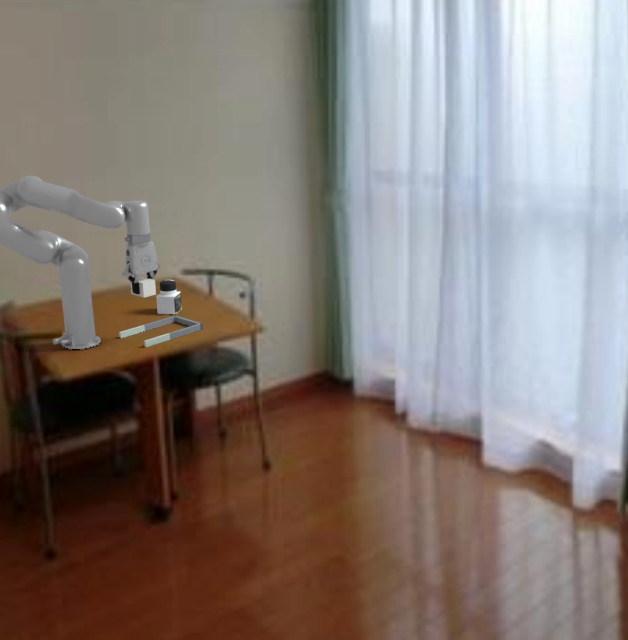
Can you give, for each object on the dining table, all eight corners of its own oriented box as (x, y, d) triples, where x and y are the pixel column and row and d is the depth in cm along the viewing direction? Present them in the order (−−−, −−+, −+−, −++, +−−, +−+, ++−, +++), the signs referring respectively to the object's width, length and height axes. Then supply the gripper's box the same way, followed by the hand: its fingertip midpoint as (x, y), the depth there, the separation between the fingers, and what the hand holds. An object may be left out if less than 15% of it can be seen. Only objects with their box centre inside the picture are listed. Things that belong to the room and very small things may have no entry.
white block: (143, 297, 279) (142, 283, 278) (131, 293, 284) (130, 279, 282) (156, 294, 283) (154, 279, 281) (143, 290, 287) (142, 276, 286)
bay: (146, 347, 279) (145, 341, 278) (119, 337, 289) (118, 332, 288) (202, 329, 296) (202, 323, 295) (175, 320, 306) (175, 315, 305)
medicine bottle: (175, 315, 312) (173, 283, 309) (157, 314, 314) (154, 283, 310) (182, 309, 319) (180, 278, 315) (164, 308, 320) (162, 278, 317)
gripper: (124, 244, 269) (129, 299, 275) (166, 235, 281) (170, 288, 286) (110, 241, 274) (115, 295, 279) (152, 232, 286) (157, 284, 291)
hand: (143, 291), depth 283 cm, fingers closed on white block, 5 cm apart
